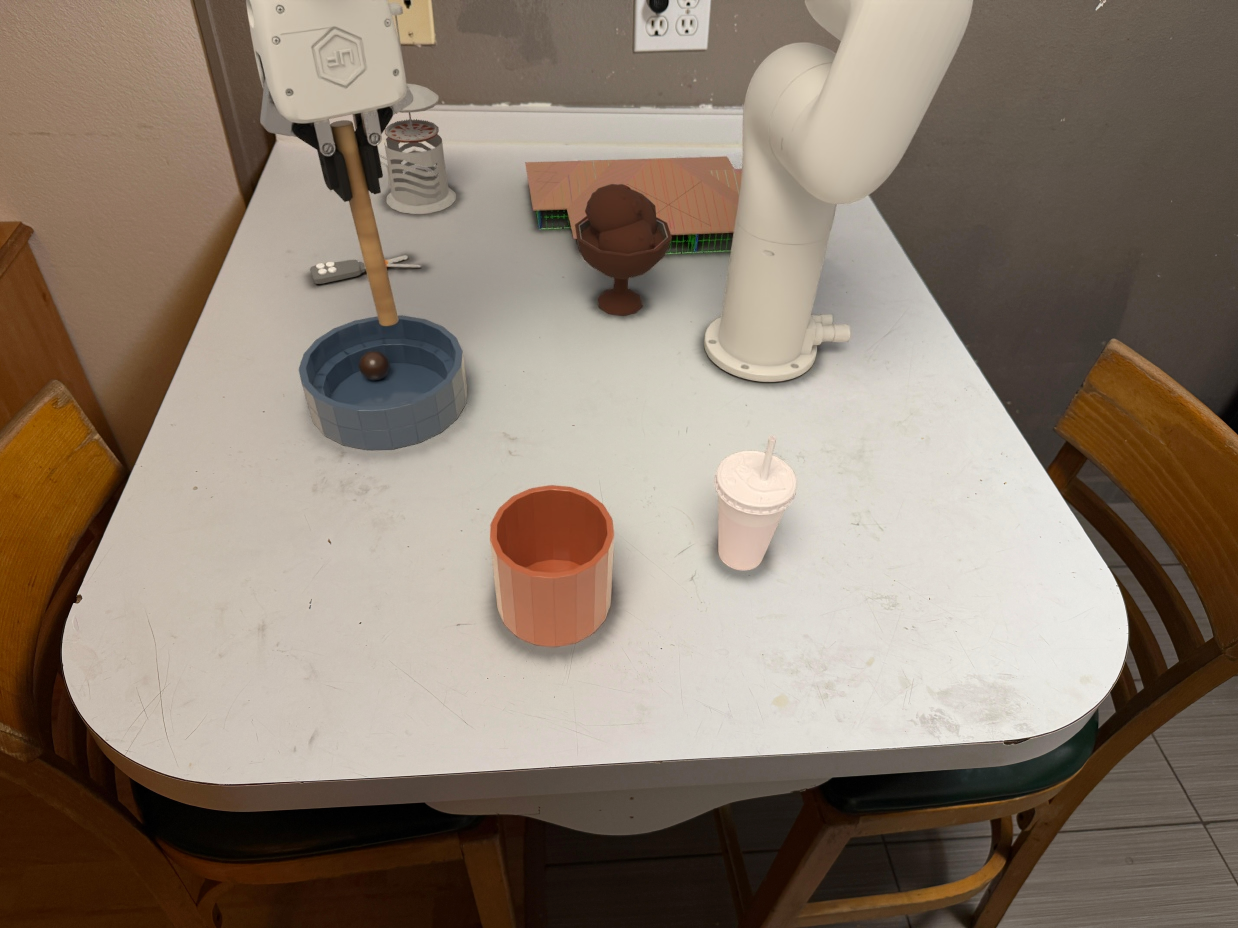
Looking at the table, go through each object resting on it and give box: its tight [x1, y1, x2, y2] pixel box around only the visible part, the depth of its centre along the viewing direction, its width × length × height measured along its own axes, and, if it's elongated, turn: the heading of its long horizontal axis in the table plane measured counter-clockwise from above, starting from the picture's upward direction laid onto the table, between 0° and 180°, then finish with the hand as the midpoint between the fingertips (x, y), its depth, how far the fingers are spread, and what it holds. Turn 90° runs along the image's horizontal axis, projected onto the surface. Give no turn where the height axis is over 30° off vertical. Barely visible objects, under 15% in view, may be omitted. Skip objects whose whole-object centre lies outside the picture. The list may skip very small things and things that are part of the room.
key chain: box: [309, 254, 422, 285], centre depth 101 cm, size 13×4×2 cm, turn 114°
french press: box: [379, 2, 457, 215], centre depth 107 cm, size 10×12×25 cm
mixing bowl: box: [298, 314, 468, 451], centre depth 81 cm, size 15×15×6 cm
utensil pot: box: [489, 484, 615, 648], centre depth 63 cm, size 9×9×9 cm
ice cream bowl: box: [575, 184, 673, 317], centre depth 93 cm, size 11×11×15 cm
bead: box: [359, 351, 389, 380], centre depth 84 cm, size 3×3×3 cm
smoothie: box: [713, 435, 798, 571], centre depth 65 cm, size 6×6×14 cm
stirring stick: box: [330, 119, 399, 326], centre depth 71 cm, size 2×2×18 cm
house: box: [524, 155, 742, 255], centre depth 112 cm, size 23×33×8 cm
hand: (356, 190), depth 69 cm, fingers closed on stirring stick, 1 cm apart
